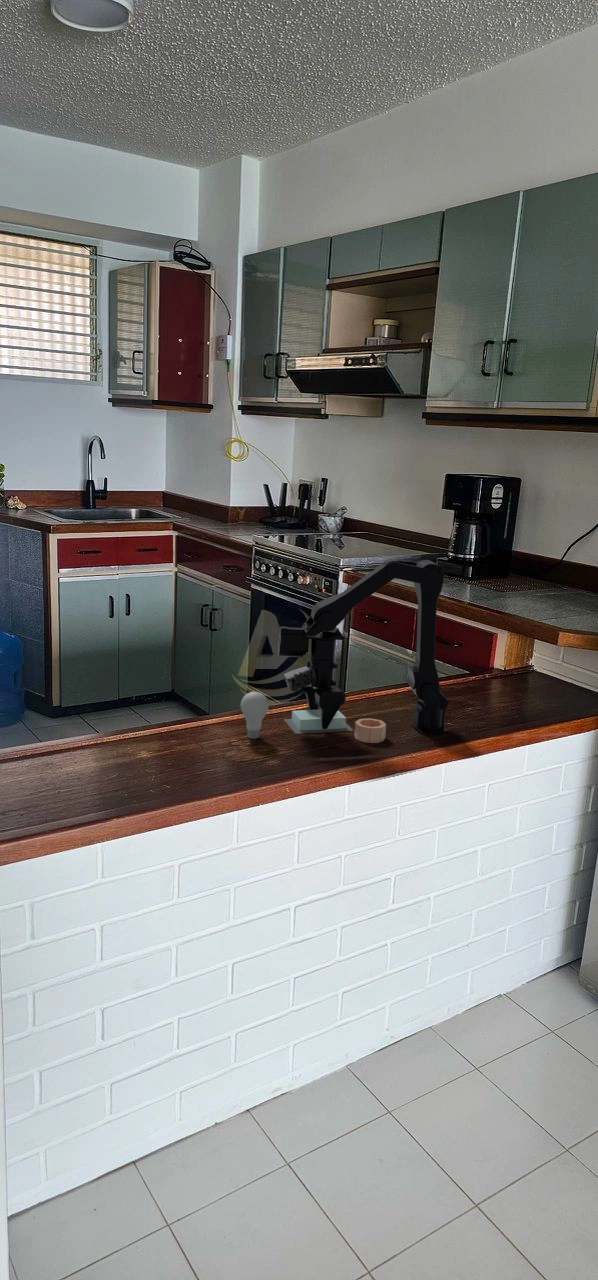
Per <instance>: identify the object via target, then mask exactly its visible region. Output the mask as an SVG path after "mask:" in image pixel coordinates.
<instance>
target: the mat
mask: <svg viewBox="0 0 598 1280" xmlns="http://www.w3.org/2000/svg"><path fill="white" fill-rule="evenodd" d="M283 722H285V723H286V724H287V725H288V726H289V728H290V729H291V730H292V731H293V733H294V734H300V735H301V734H314V733H315V734H317V733H318V734H319V733H333V732H334V733H337V732H352V731H353V732H355V729H353V727H351V726H350V725H349V724H348V723H347V722H346V723H345V728H343V729H323V730H303V731H299V729H298V728H297V727H296V726H295V725H294V723H293V722H292V718H284V719H283Z"/></svg>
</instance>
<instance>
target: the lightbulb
mask: <svg viewBox="0 0 598 1280" xmlns="http://www.w3.org/2000/svg"><path fill="white" fill-rule="evenodd" d="M269 707H270V706H269V701H268V698H267V697H266V696H265V694H263V693H261V692H259V691H251V692H248V693H246V694H244V696H243V697H242V699H241V701H240V710H241V712H242V715H243V716H244V719H245V723H246V729H247V737H248V739H251V740H256V739H259V738H260V730H261V728H262V722H263V719H264V718H265V716H266V714H267V713H268V710H269Z"/></svg>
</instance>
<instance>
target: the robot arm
mask: <svg viewBox="0 0 598 1280" xmlns="http://www.w3.org/2000/svg"><path fill="white" fill-rule="evenodd" d="M394 579H397V580H398V579H399V580H401V581H407V582H411V583H413V584H414V585H413V586H414V590H415V593H416V597H417V625H416V626H417V629H416V657H415V661H414V663H413V665H407V672H408V677H407V680H406V682H407V683H408V685H409V687H410V689H411V691H412V692H413V693H414V694H415V695H416V697H417V699H418V700H419V701H418V702H416V707H415V708H414V709H413V720H412V722H411V726H412V727H413V728H415V729H416V730H417V731H419V732H420V734H441V733H447V732H448V730H447V728H445V723H446V712H447V711H446V710H447V707H448V705H449V699H447V698H446V696H445V695H444V694H443V693H442V692H441V685H440V680H439V673H438V669H437V665H436V661H435V660H436V639H437V638H436V636H437V635H436V634H437V633H436V632H437V611H438V610H437V609H438V607H437V604H438V600H439V599H440V595H441V594H442V589H443V586H444V580H445V572H444V570H443V568H442V567H441V566H440V565H438V564H437V563H435V562H434V561H432V560H430V559H429V560H428V559H423V560H419V561H418V562H417V561H415V562H414V561H410V560H409V561H408V560H398V559H395V558H387V559H386V560H384V561H383V562H382V564H380V565H379V566H377V567H376V568H374V569H372V570H371V571H370V572H369V573H367V574H366V575H365V576H363V577H362V578H361V579H359V580H358V581H357V582H355V583H353V584H352V585H351V586H349V587H348V588H346V589H345V590H344V591H342V592H339V593H337V594H334V595H333V596H328V597H327V598H325V599H323V600H321V601H319V602H316V603H315V604H314V606H312V608H311V612H310V616H308V618H307V620H306V621H304V622H303V624H302V625H301V627H288V626H281V625H280V627H279V634H278V638H277V657H279V658H281V657H283V658H286V657H287V658H304V656H305V655H307V654H308V653H309V658H306V659H307V660H305V666H302V667H299V668H296V669H294V670H290V671H288V672H285V673H284V674H283V677H284V680H285V683H286V685H287V688H288V689H289V690H290V691H291V692H297V691H299V689H301V690H303V692H304V693H305V695H306V702H307V707H308V710H320V711H321V723H322V728H323V729H327V728H328V726H329V724H330V723H331V721H332V719H333V717H334V716H335V714H336V713H337V711H339V709H340V708H341V707H342V706H343V705H345V704H346V701H347V695H346V694H345V693H344V691H343V690H342V689H340V688H339V687H338V686H337V681H336V680H335V679H334V677H335V676H334V675H335V669H338V663H337V662H336V645H337V641H344V640H345V639H346V637H345V635H344V634H343V633H342V632H341V631H340V629H339V627H337V626H339V625H340V623H342V621H344V619H345V618H346V617H347V616H348V614H349V613H350V612H351V611H352V610H353V609H354V608H355V607H356V606H357V605H359V604H360V603H362V602H364V601H365V600H366V599H368V598H369V597H370V596H372V595H373V594H375V593H376V592H378V591H379V590H380V589H382V588H383V587H385V586H386V585H387V584H388V583H390V582H391V581H393V580H394ZM309 640H310V641H309ZM309 642H310V645H309ZM309 646H310V647H309ZM309 649H310V651H309ZM319 708H320V709H319Z"/></svg>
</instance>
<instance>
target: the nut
mask: <svg viewBox="0 0 598 1280" xmlns="http://www.w3.org/2000/svg"><path fill="white" fill-rule="evenodd" d="M353 732H354V735H353V736H354V738H355V739H356V740H358V741H360V742H362V743H368V744H369V743H370V744H374V743H375V744H377V743H381V742H384V741H385V739H386V732H387V724H386V723H385V722H384V721H383V720H381V719H376V718H360V719H358V720H356V721H355V722H354V731H353Z"/></svg>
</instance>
